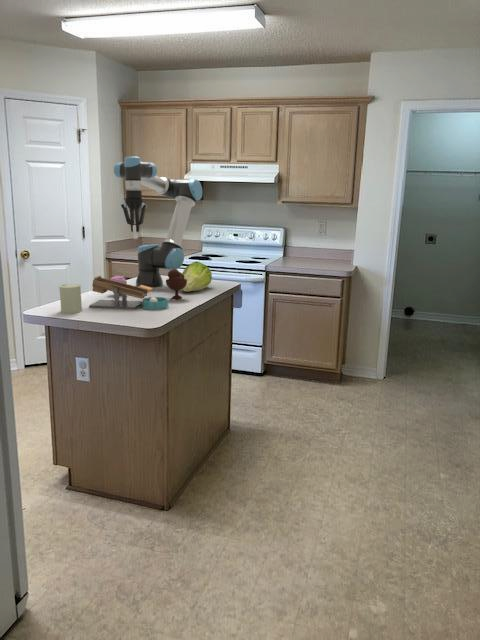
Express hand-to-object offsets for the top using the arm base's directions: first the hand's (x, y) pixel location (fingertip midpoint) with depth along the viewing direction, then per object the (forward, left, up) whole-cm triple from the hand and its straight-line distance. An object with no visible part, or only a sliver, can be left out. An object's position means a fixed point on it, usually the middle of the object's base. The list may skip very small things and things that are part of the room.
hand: (135, 238), depth 255 cm
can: (+36, -19, -30) cm, 50 cm away
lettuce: (-22, +25, -30) cm, 44 cm away
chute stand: (+22, -3, -29) cm, 37 cm away
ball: (+22, +15, -27) cm, 38 cm away
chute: (+18, -2, -25) cm, 30 cm away
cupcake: (-2, -11, -30) cm, 32 cm away
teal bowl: (+22, +16, -29) cm, 40 cm away
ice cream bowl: (+2, +21, -30) cm, 36 cm away
